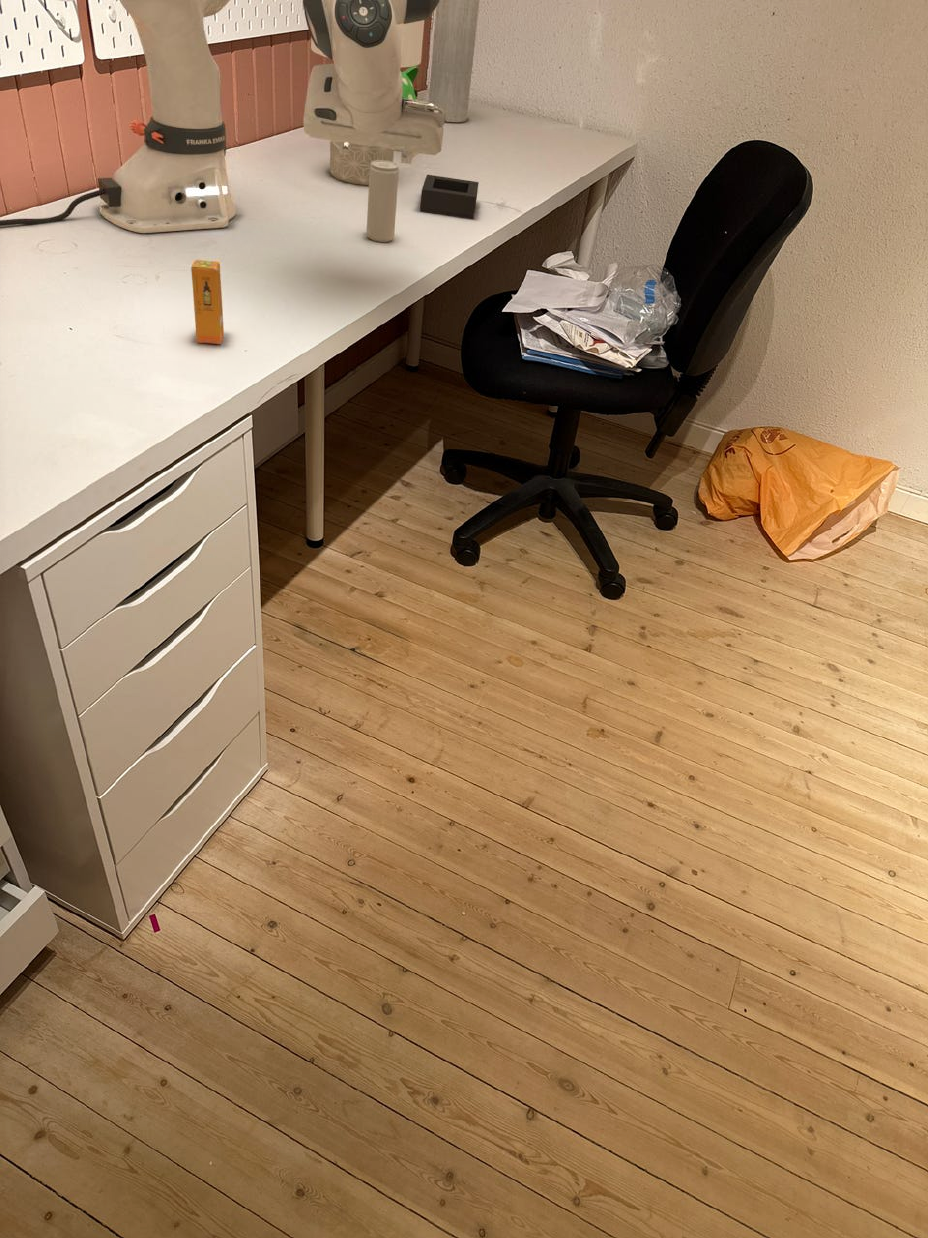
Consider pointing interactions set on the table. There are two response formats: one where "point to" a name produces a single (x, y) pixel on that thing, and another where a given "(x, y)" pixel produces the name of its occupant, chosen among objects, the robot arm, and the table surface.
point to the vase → (453, 57)
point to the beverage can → (382, 200)
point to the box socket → (449, 196)
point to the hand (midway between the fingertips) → (376, 154)
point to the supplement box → (207, 301)
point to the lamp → (361, 156)
